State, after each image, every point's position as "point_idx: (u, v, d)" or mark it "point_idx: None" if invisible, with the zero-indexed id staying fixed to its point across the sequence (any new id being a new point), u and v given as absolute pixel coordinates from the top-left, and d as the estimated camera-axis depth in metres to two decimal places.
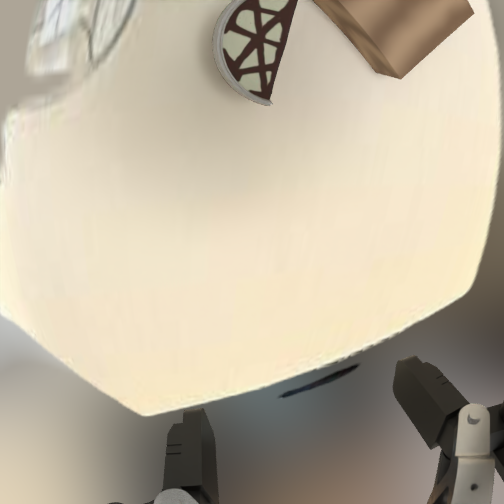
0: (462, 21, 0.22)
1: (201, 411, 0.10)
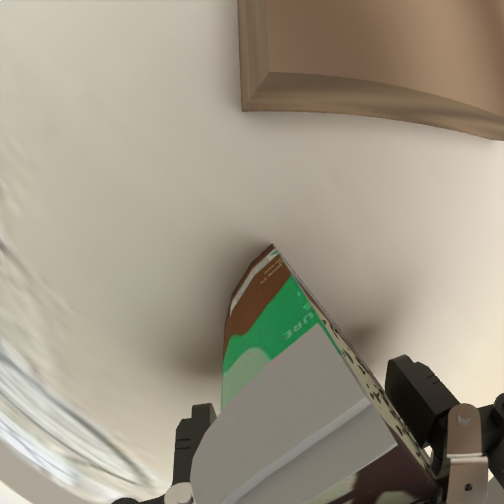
0: None
1: (209, 406, 0.10)
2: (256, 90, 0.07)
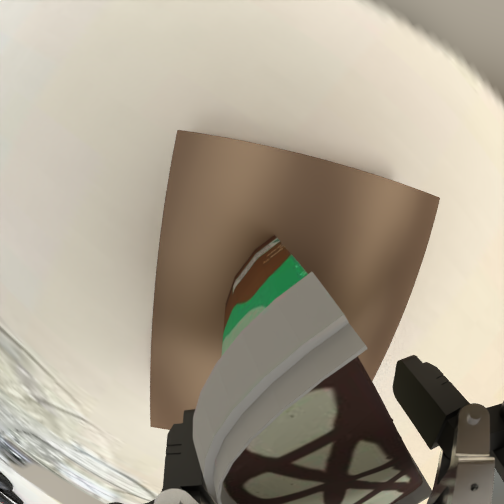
0: (420, 255, 0.15)
1: None
2: None
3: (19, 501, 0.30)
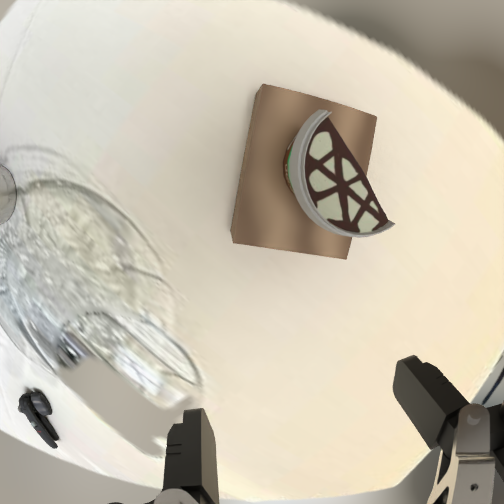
0: (370, 142, 0.32)
1: (201, 411, 0.10)
2: (232, 238, 0.36)
3: (55, 435, 0.47)
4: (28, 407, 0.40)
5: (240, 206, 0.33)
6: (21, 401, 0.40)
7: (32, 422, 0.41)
